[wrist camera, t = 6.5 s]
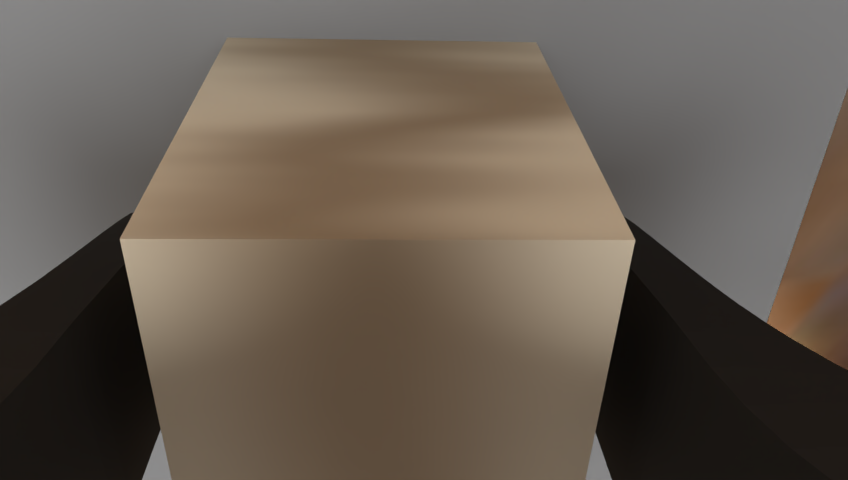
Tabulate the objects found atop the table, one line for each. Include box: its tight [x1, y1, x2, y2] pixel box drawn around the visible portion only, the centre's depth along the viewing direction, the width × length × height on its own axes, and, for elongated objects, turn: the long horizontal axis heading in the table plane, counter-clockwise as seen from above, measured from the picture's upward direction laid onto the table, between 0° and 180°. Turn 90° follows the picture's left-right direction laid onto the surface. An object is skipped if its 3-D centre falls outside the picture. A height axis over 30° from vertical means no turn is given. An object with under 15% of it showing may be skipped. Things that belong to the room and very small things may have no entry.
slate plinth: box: [0, 0, 848, 480], centre depth 15 cm, size 16×16×2 cm
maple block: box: [120, 38, 635, 480], centre depth 11 cm, size 5×5×6 cm
